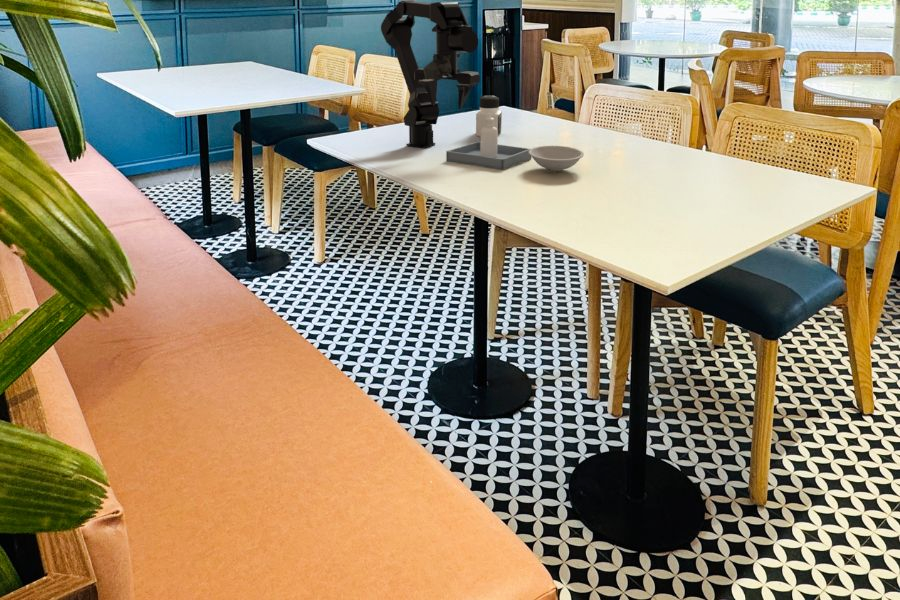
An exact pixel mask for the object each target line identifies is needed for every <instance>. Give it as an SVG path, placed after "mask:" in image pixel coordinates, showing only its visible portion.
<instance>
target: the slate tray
mask: <svg viewBox="0 0 900 600" xmlns="http://www.w3.org/2000/svg"><path fill="white" fill-rule="evenodd" d="M530 149H531V148H527V147H519V146H513V145H505V144H499V143H498V147H497V156H496V157H494V158H493V157H486V156H480V141H475V142H471V143H467V144H465V145H461V146H459V147H456V148H453V149H449V150H446V155H445V157H446V158H445V159H446V160H445V162H448V163H455V164H462V165H467V166H475V167H481V168H487V169H494V170H501V171H504V170H507V169H509V168H512V167H514V166H516V165H519V164H522V163H524V162H527V161H529V160H532V159H533V158H532V156H531V155H530V154H529V150H530Z"/></svg>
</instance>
